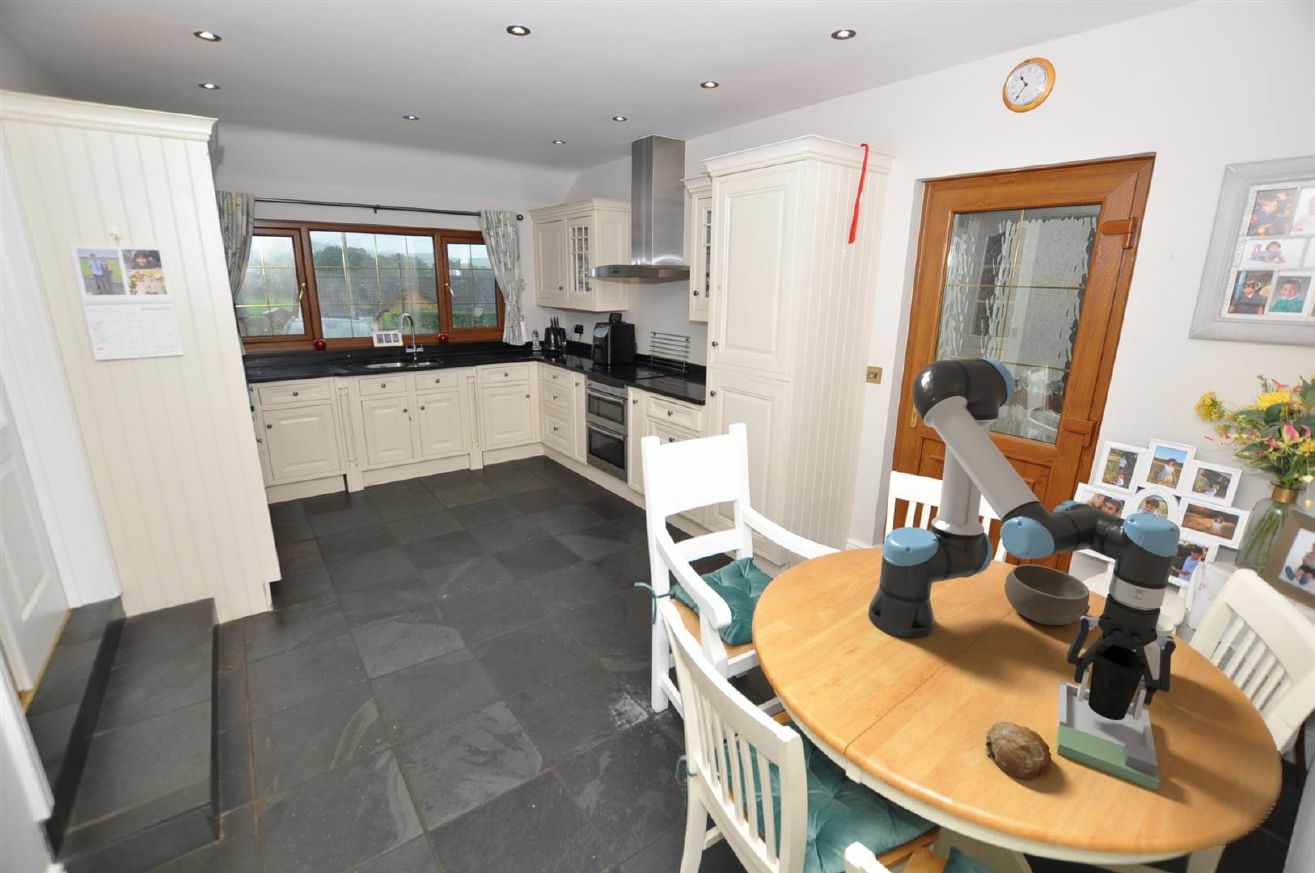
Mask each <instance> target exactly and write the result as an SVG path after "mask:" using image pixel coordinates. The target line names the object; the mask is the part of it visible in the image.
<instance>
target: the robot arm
mask: <svg viewBox="0 0 1315 873" xmlns="http://www.w3.org/2000/svg"><path fill="white" fill-rule="evenodd" d="M1014 389H1015V381H1014V378H1013V375H1012V373H1011V372H1010V370H1009V369H1008V368H1007V366H1006V365H1005V364H1004V363H1003V362H1001V361H999V360H997V359H993V358H982V357H979V358H978V357H973V358H963V359H942V360H941V359H940V360H937V361H933V362H931V363H929V364H927V365H926V366H924V367H923V368H922V369H921V370H920V371H919V372H918V373H917V374H916V377H915V378H914V381H913V383H912V387H911V397H912V402H913V406H914V409H915V411H916V413H917V414H918V416H919V418H920V419H921V421H922V422H923V424H924V425H925V426H926V427H928V428H933V429H934V430H935V433H937V435H938V436H939V438H940V439H941V440H942V442H944V444H945V454H944V465H943V472H942V473H943V475H942V482H941V483H942V484H941V493H940V494H941V495H940V504H939V511H938V512H939V514H938V515H937V516H936V517H934V518H932V520H931V525H930V530H928V529H925V528H922V527H912V526H905V527H899V528H895V529H893V530H892V531H890V532H889V533H887V535H886V537H885V539H884V544H883V548H882V559H881V569H880V574H879V575H880V576H879V583H878V584H879V585H878V588H877V591H876V592H875V594H874V596H873V597H872V600H871V601H870V603H869V606H868V619H869V620H870V622H871V623H872V624H873V625H874V626H875V627H877V628H878V629H879V630H881V631H883V632H885V633H887V634H889V635H892V636H895V637H899V638H906V639H922V638H926V637H928V636H930V634H932V633H933V631H934V626H935V616H934V612H933V606H932V602H931V592H932V586H933V583H937V582H944V581H948V580H949V581H950V580H954V579H960V578H970V577H972V576H974V575H978V574H981V573H983V572H984V571H985V570H987V569H988V568H989V567H990V564H991V562H992V560H993V554H994V551H993V544H992V543H990V539H991V538H990V537H989V536H988V535H987V533H986V532H985V527H984V526H983V524H981V523H980V521H979V519H980V518H979V516H980V508H981V499H982V496H983V498H984V500H986V501H987V503H988V504H989V506H990V508H992V510H993V511H994V513H995V514H996V515H997V517H998V518H999V520H1000V521H1001V522H1002V526H1001V527H1000V532H999V537H1000V538H1001V541H1002V543H1001V544H1002V546H1003V548H1004V549H1005V551H1007V553H1009V554H1010V555H1012V556H1013V557H1015V558H1017V559H1021V560H1031V559H1043V558H1047V557H1050V556H1051V557H1052V556H1055V555H1059V554H1065V553H1074V552H1079V551H1082V550H1083V551H1084V550H1091V551H1093V552H1095V553H1096V554H1100V555H1103V556H1105V557H1107V558H1109V559H1113V560H1114V565H1113V571H1112V575H1111V578H1110V579H1111V580H1110V583H1109V587H1108V592H1109V593H1107V595H1106V599H1105V604H1104V608H1103V612H1102V613H1101V615H1099V616H1098V617H1093V616H1092V617H1091V616H1088V614H1087V613H1086V614H1081V616H1080V625H1079V627H1078V629H1077V632H1076V634H1075V635H1074V638H1073V640H1072V642H1071V644H1070V646H1069V648H1068V650H1067V654H1066V661H1067V663H1068V664H1070V665H1074V666H1075V670H1074V675H1073V681H1074V683H1076V684H1079V685H1078V686H1079V689H1078V701H1080V702H1083V698H1084V694H1085V690H1086V689H1087V685H1088V682H1089V681H1088V680H1089V676H1090V665H1091V664H1093V661H1094V660H1095V652H1096V651H1097V652H1098V653H1099V654H1101V653H1103V652H1104V651H1105V650H1106V649H1107V648H1109V647H1110V646H1111V645H1112V644H1113V645H1116V646H1124V647H1126V648H1128V649H1131V650H1134V649H1135V651H1136V654H1137V657H1138V660H1139V664H1140V667H1142V666H1143V665H1145V666H1146V668H1145V670H1144V673H1143V677H1144V679H1143V680H1144V681H1143V680H1142V681H1141V680H1140V683H1139V685H1138V687H1137V690H1136V692H1135V697H1134V702H1133V708H1132V714H1133V719H1135V720H1139V716H1140V713H1141V709H1142V707H1144V706H1143V705H1147V706H1150V705H1152V704H1151V703H1152V700H1153V698H1154V695H1155V694H1156V693H1157V691H1161V692H1163V693H1169V692H1170V687H1171V666H1172V664H1171V663H1172V661H1171V660H1172V655H1173V653H1174V651H1175V650H1176V648H1177V646H1176V642H1175V639H1174V637H1173V636H1172V635H1170V636H1167V637H1165V636H1162V635H1160V634H1157V632H1156V626H1157V622H1158V618H1159V615H1160V612H1161V607H1162V606H1163V605H1164V604H1163V602H1164V599H1165V595H1166V591H1167V587H1168V582H1169V578H1170V574H1171V572H1172V568H1173V565H1174V561H1175V559H1176V556H1177V554H1178V553H1179V541H1180V536H1181V529H1180V527H1179V526H1178V525H1177V524H1176V523H1175V522H1173V521H1171V520H1169V519H1167V518H1165V517H1163V516H1156V515H1155V516H1154V514H1153V515H1152V514H1148V513H1132V514H1129V515H1127V516H1126V517H1125V518H1122V517H1119V516H1116V515H1114V514H1112V513H1109V512H1106V511H1104V510H1103V509H1098V507H1097V508H1096V507H1094V506H1093V505H1090V504H1088V503H1084V502H1079V501H1076V500H1065V501H1062V503H1061V504H1060V505H1057V506H1055V508H1054V509H1053V510H1052V512H1049V511H1048V510H1047V508H1046V507H1045V506H1044V504H1043V503H1042V501H1040V500H1039V498H1038V497H1037V496H1036V494H1034V492H1033V490H1031V488H1030V487H1029V486H1028V484H1027V483H1026V482H1025V480H1024V479H1023V478H1022V477H1021V476H1020V474H1019V473H1018V472H1017V470H1016V469H1015V468H1014V467H1013V465H1012V464H1011V463H1010V462H1009V460H1008V459H1007V457H1005V455H1004V453H1002V451H1001V450H1000V449H999V448H998V447H997V445H996V444H995V442H994V441H993V440H992V439H991V438H990V436H989V433H990V427H991V424H993V423H994V422H996V421H997V420H998V419H999V412H1000V408H1002V407H1004V406H1005V405H1007V404H1008V402H1009V401H1011V399H1012V397H1013V394H1014V391H1015V390H1014ZM1096 626H1098V627H1099V628H1100V630H1101V632H1102V633H1101V634H1100V636H1099V637H1098V638H1097V639H1096V640H1095V641H1094V642H1093V643H1092V644H1091V645H1090V646H1089V647H1088V648H1087V649H1086V650H1085V651H1084V652H1083V653H1082V654H1081V655H1080V656H1079V654H1080V653H1081V650H1082V649H1083V646H1084V644H1085V642H1086V640H1087V638H1088V636H1089V634H1090V631H1091V630H1094V628H1095V627H1096ZM1155 640H1156V641H1157V642H1158V647H1159V648H1160V667H1159V678H1158V679H1156V680H1153V676H1152V673H1151V670H1150V666H1149V663H1148V660H1147V656H1146V653H1145V650H1144V646H1146V645H1148V644H1150V643H1151V642H1153V641H1155Z"/></svg>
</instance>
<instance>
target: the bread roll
mask: <svg viewBox="0 0 1315 873" xmlns="http://www.w3.org/2000/svg"><path fill="white" fill-rule="evenodd" d="M985 742H986V743H985V746H986V747H985V750H984V751H985V754H986V755H987V757H990V759H991V760H992V761H993V762H994V763H995V764H996V765H997V766H998V767H999V768H1001V769H1002V771H1004V772H1005V773H1007V774H1008V775H1010V776H1012V777H1014V778H1018V779H1022V780H1026V781H1033V780H1037V779H1038V778H1041V777H1043V776H1045V775H1046V774H1047V772H1049V771H1050V769H1051V765H1052V761H1053V760H1052V753H1051V752H1050V746H1049V745H1048V744H1047V743H1046V741H1045V740H1044V739H1043V738H1042V736H1041V735H1040V734H1039V733H1038V732H1037V731H1035V730H1033V729H1030V728H1029V727H1028V726H1027V727H1026V726H1021V725H1019V724H1015V723H1013V722H1009V721H999V722H998V721H997V722H996V723H994V724H993V725H992V726H991V727H990V728H989V729H988V731H987V735H986V739H985Z"/></svg>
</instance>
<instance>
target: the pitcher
mask: <svg viewBox="0 0 1315 873" xmlns="http://www.w3.org/2000/svg"><path fill="white" fill-rule="evenodd" d="M1175 628H1176V627H1175V623H1174V622H1173V620H1172V619H1171V618H1169V617H1168V616H1166V614H1164V613H1162V612H1161V611H1160V615H1159V618H1158V622H1157V626H1156V632H1157V634H1160V635H1162V636H1165V637H1167V636H1171V634H1172V633H1173V631H1174V629H1175ZM1144 650H1145V653H1146V656H1147V660H1148V663H1149V666H1150V670H1151V673H1152V676H1153V680H1159V667H1160V648H1159V647H1158V642H1157V641H1156V640H1155V641H1153V642H1151V643H1150V644H1148V645H1146V646H1144ZM1133 651H1135V649H1134V650H1133ZM1135 652H1136V651H1135ZM1141 680H1142V681H1143V680H1144V677H1143V675H1142V678H1141ZM1141 680H1140V681H1141Z"/></svg>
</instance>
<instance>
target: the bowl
mask: <svg viewBox="0 0 1315 873" xmlns="http://www.w3.org/2000/svg"><path fill="white" fill-rule="evenodd" d="M1004 592H1005V596H1006V598H1007V601H1008V602H1009V604H1010V605H1011V607H1012V608H1013V609H1014V610H1015V611H1017V613H1019V614H1020V615H1022V616H1023V617H1025V618H1027V619H1029V620H1030V621H1032V622H1034V623H1037V624H1039V625H1040V624H1041V625H1046V626H1064V625H1065V626H1066V625H1069V624H1072V623H1075V622H1077V621H1078V619H1081V617H1080V616H1081V614H1086V615H1087V614H1088V613H1089V611H1090V607H1091V606H1090V605H1089V601H1090V590H1089V588H1088V586H1087V585H1086V584H1085V583H1084V582H1082V581H1081V580H1079V579H1078V578H1077V577H1075V576H1073V575H1071V574H1069V573H1066V572H1064V571H1061V570H1058V569H1055V568H1052V567H1048V566H1044V565H1039V564H1032V563H1031V564H1019V565H1017V566H1014V567H1013V568H1012V570H1011V571H1009V573H1008V574H1007V575H1006V577H1005V582H1004Z"/></svg>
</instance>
